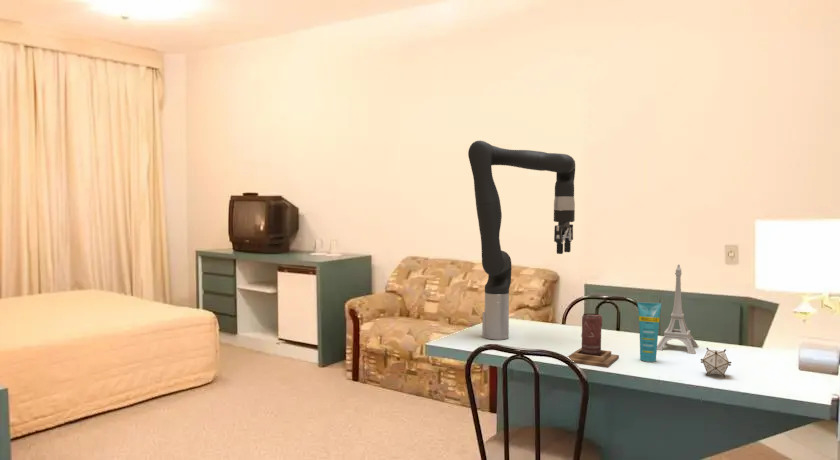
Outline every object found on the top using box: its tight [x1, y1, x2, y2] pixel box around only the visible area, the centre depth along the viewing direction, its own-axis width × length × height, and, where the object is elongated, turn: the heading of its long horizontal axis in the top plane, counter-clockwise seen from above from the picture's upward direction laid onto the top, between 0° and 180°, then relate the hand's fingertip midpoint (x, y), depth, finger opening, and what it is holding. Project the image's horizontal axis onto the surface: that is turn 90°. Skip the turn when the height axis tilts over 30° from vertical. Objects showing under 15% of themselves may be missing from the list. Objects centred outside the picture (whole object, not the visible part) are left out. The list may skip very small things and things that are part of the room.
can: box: [581, 313, 603, 356], centre depth 208 cm, size 6×6×14 cm
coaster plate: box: [567, 347, 620, 369], centre depth 209 cm, size 14×14×2 cm
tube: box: [636, 301, 662, 363], centre depth 208 cm, size 7×5×19 cm, turn 73°
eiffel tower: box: [657, 264, 700, 355], centre depth 225 cm, size 13×13×30 cm
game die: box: [700, 347, 732, 378], centre depth 190 cm, size 9×8×10 cm
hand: (563, 253), depth 234 cm, fingers open, 8 cm apart
